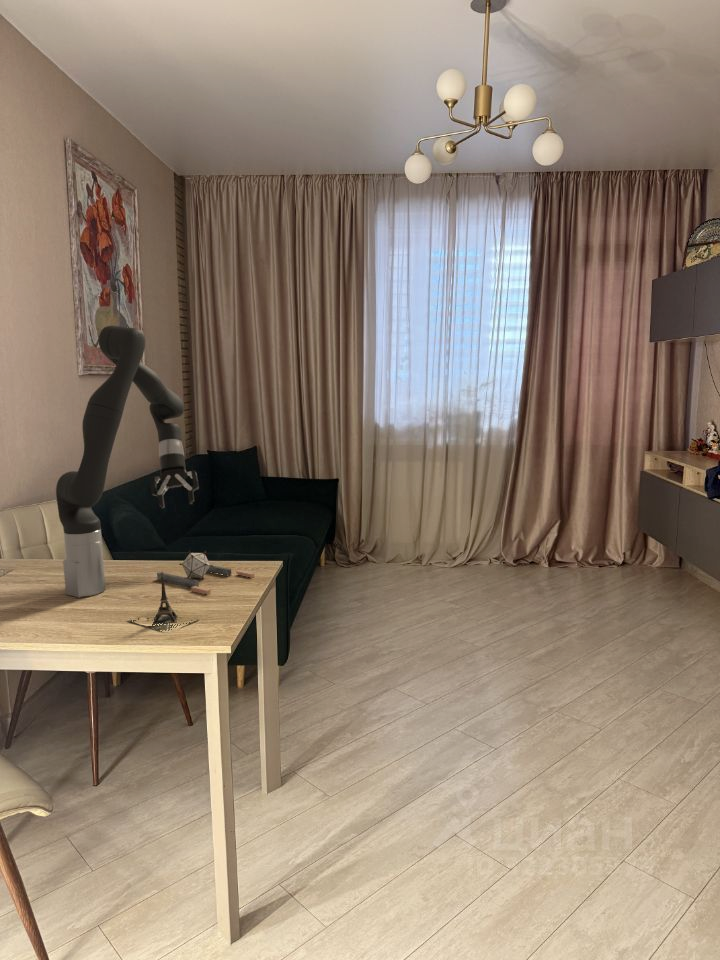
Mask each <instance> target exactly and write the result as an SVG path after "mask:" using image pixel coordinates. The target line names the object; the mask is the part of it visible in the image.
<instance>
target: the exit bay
mask: <svg viewBox="0 0 720 960" xmlns="http://www.w3.org/2000/svg"><path fill="white" fill-rule="evenodd" d="M235 572H236V573H235V574H238V575H242V576H241V577H243V576H246V577H245V578H248V577H250V578H249V579H254V578H255V573H254V572H249V571H246V570H240V569H239V570H235ZM238 575H237V576H238ZM253 577H254V578H253ZM190 588H191V592H192V591H193V592H192V593H196V592H198V593H197V594H200V593H202V594H201V595H204V594H209V595H211V589H209V588H205V587H201V586H199V587H197V586H194V587H190Z"/></svg>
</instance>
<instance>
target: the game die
mask: <svg viewBox="0 0 720 960" xmlns="http://www.w3.org/2000/svg"><path fill="white" fill-rule="evenodd" d="M206 553H207V550H204V551H203V552H191V550H188V555H187V556H186V558H185V559H184V560H183V562H182V563H181V562H180V563H178V565H179V566H182V568H183V570H184V572H185V574H186V578H189V579H190V578H202V580H205V577H204V576H206V574H207V573H208V572H207V571H208V569H209V568H210V566H211V567H213V566H214V565H213V564H210V562H209V559H208V558H207V555H206Z"/></svg>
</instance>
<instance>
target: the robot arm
mask: <svg viewBox="0 0 720 960" xmlns="http://www.w3.org/2000/svg"><path fill="white" fill-rule="evenodd" d="M98 347H99V349H100V350H101V352H102V354H103V355H104V356H105V357H106V358H107V359H108V360H109V361H110V362H112V363H113V364H114V365H115V367H114V369H113V371H112V373H111V375H110V376H109V377H108V378H107V379H106V380H105V381H104V382H103V383H102V384H101V385H99V387H98V388H97V389H96V390H95V391H94V392H92V395H91V396H90V398H89V399H88V402H87V405H86V407H85V412H84V415H83V418H82V426H81V427H82V440H83V454H82V459H81V460H80V461H81V462H80V465H79V466H78V467H79V468H78V470H76V471H75V470H72V471H67V472H65V473H64V474H62V475H61V476H60V477H59V478H58V480H57V482H56V487H55V497H56V504H57V509H58V510H57V511H58V517H59V521H60V523H61V526H62V529H63V536H64V537H63V539H64V549H65V559H64V560H63V561H62V563H63V565H62V566H63V576H64V585H65V586H64V587H65V594H66V595H68V596H72V597H75V598H78V599H79V598H84V597H91V596H95V595H98V594H99V595H100V594H102V593H103V592H105V591H106V577H105V564H104V563H105V562H104V555H103V551H104V550H103V539H102V538H103V537H102V526H101V520H100V519H99V517H98V516H97V515H96V514H95V512H94V511H93V509H92V507H94V506H95V505H96V504H98V502H99V501H100V500H101V498H102V495H103V493H104V490H105V484H106V480H107V479H106V478H107V472H108V467H109V462H110V458H111V455H112V454H111V453H112V451H113V449H114V448H113V447H114V444H115V440H116V438H117V437H116V436H117V433H118V430H119V427H120V426H121V425H120V424H121V420H122V418H123V414H124V410H125V405H126V403H127V399H128V395H129V392H130V389H131V386H132V383H133V384H134V385H135V386H136V387H137V389H138V390H139V391H140V393H141V394H142V395H143V397H144V398H145V400H147V402H149V403H150V404H149V413H150V415H151V417H152V419H153V421H154V425H155V427H156V428H155V429H156V431H157V438H158V456H159V465H160V475H155V476H154V475H151V476H150V494H152V496H153V497H154V496H155V497H157V501H158V506H159V507H160V508H161V509H165V508H166V507H165V498H164V495H165V493H166V492H167V491H168V490H169V489H174V488H181V487H184V488H186V490H188V491H187V495H188V496H187V497H188V504H189V505H193V503H194V502H195V495H194V492H195V491H198V490H199V489H200V484H199V480H198V474H197V471H196V470H195V469H192V470H190V471H187V469H186V462H185V461H186V460H185V451H184V450H185V449H184V446H183V441H182V432H181V428H180V426H179V424H176V423H173V422H165V420H166V421H167V420H171V419H176V418H179V417H181V416H182V415H184V412H185V405H184V402H183V400H182V399H181V397H180V396H179V395H177V394H176V393H175V392H174V391H172V390H171V389H169V388H168V387H167V386H166V385H165V384H164V382H163V381H162V379H161V378H160V376H159V375H158V374H157V373H156V372H155V371H154V370H153V369H151V368H150V367H148V366H147V365H146V364H144V363H143V362H142V359H143V357H144V354H145V349H146V338H145V335H144V333H143V331H142V330H140V329H139V328H136V327H128V326H120V325H106V326H104V328H102V329H101V330H100V333H99V336H98ZM188 476H189V477H190V479H192V483H193V485H190V484H189V483H188V482H187V478H188ZM160 481H161V482H162V483H161V485H160V488H159V490H158V488H157V485H158V483H159V482H160Z"/></svg>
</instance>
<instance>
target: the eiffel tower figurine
mask: <svg viewBox="0 0 720 960" xmlns="http://www.w3.org/2000/svg"><path fill="white" fill-rule="evenodd" d="M161 572H162V573H161V577H162V581H161V598H160V605H159V607H158V610H157V613H156V615H155V616H153V619H154V622H153V624H152V626H147V627H146V628H148V629H152V630H155V631H156V632H157V631H158V632H160V630H162V631H163V630H165V631H166V630H167V629H168V631H169V630H170V628H172V626H173V624H172V625H170V623H177V619H179V616H178V615H179V614H177V613H176V612H175V611H174V609H173V608H172V606H171V605H170V603H169V601H168V597H167V593H166V586H165V581H164V577H163V575H164V574H163V573H164V572H163V571H161ZM164 604H165V606H164ZM138 620H139V619H138ZM134 621H136V620H133V622H134ZM127 622H129V623H133V622H132V620H131V619H128V620H127ZM196 622H197V620H196V621H194V622H192V623H191V624H193V623H196ZM159 623H160V624H162V623H163V624H162V625H160V624H159ZM168 623H169V625H168ZM189 623H190V622H189ZM133 624H134V623H133ZM155 624H156V625H155ZM157 624H159V626H158V625H157ZM164 624H166V625H164ZM183 624H184V623H183ZM186 624H187V623H186ZM153 625H155V626H153ZM175 625H176V624H175ZM175 625H174V626H175ZM180 625H181V624H180ZM180 625H179V626H180ZM170 626H171V627H170ZM174 626H173V628H174ZM177 626H178V624H177ZM177 626H176V627H177ZM176 627H175V628H176ZM171 630H172V629H171ZM162 631H161V632H160V633H163V632H162Z"/></svg>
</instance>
